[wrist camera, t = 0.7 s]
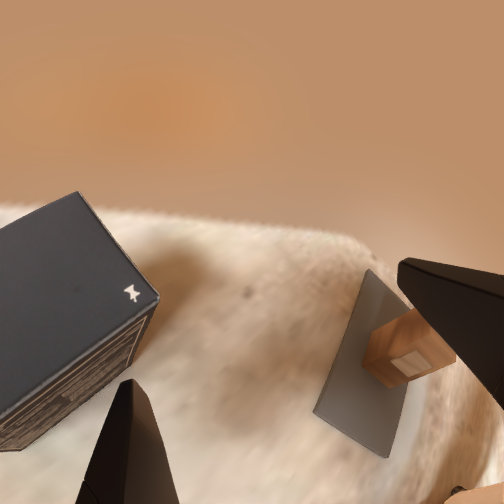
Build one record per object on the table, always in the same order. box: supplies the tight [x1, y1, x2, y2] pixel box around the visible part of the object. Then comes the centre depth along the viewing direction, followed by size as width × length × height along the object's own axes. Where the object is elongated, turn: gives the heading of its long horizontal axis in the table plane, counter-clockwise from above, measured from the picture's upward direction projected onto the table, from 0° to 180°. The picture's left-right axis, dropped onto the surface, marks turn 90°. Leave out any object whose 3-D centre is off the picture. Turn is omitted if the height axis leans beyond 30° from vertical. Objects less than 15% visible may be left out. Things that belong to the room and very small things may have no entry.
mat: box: [313, 269, 410, 458], centre depth 29 cm, size 20×10×1 cm, turn 149°
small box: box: [0, 191, 160, 452], centre depth 11 cm, size 11×6×10 cm, turn 140°
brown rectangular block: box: [361, 308, 456, 389], centre depth 25 cm, size 5×5×8 cm
